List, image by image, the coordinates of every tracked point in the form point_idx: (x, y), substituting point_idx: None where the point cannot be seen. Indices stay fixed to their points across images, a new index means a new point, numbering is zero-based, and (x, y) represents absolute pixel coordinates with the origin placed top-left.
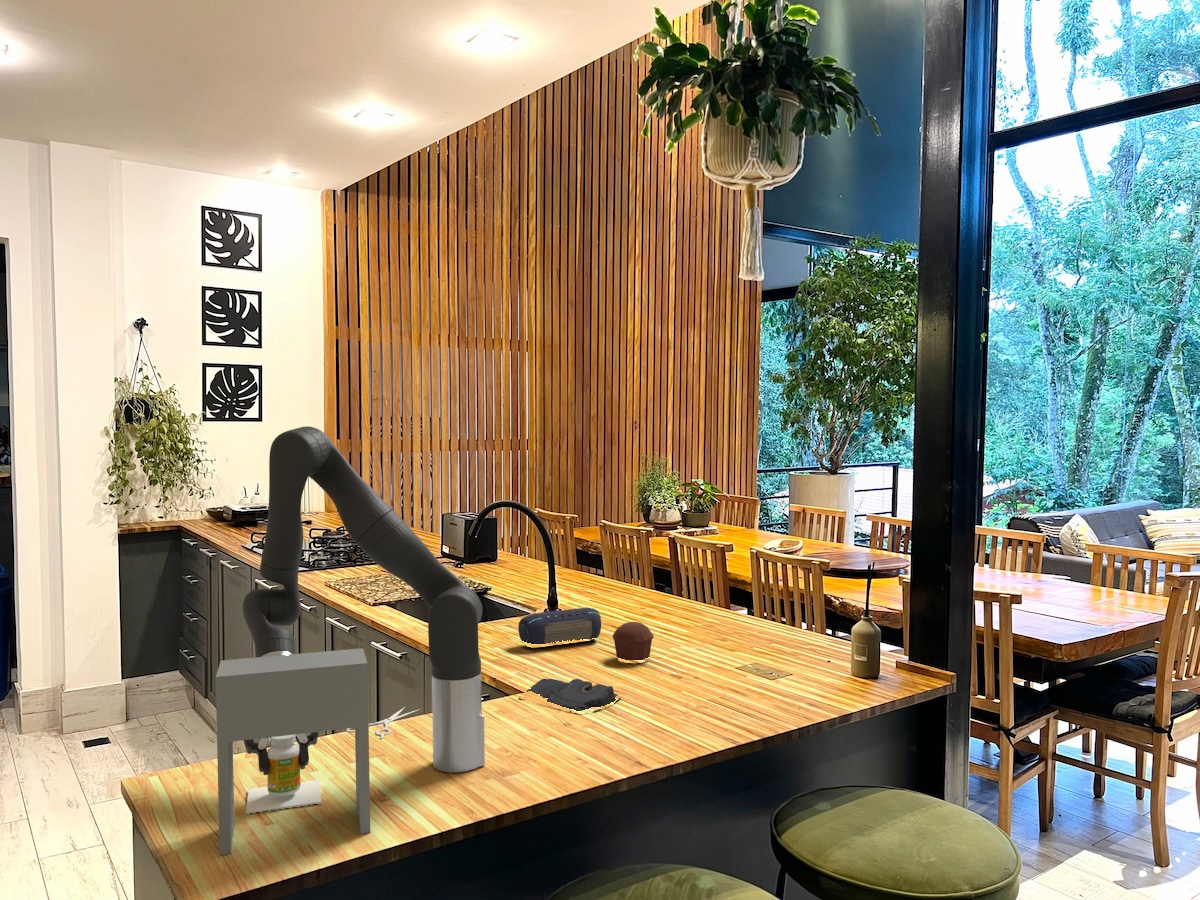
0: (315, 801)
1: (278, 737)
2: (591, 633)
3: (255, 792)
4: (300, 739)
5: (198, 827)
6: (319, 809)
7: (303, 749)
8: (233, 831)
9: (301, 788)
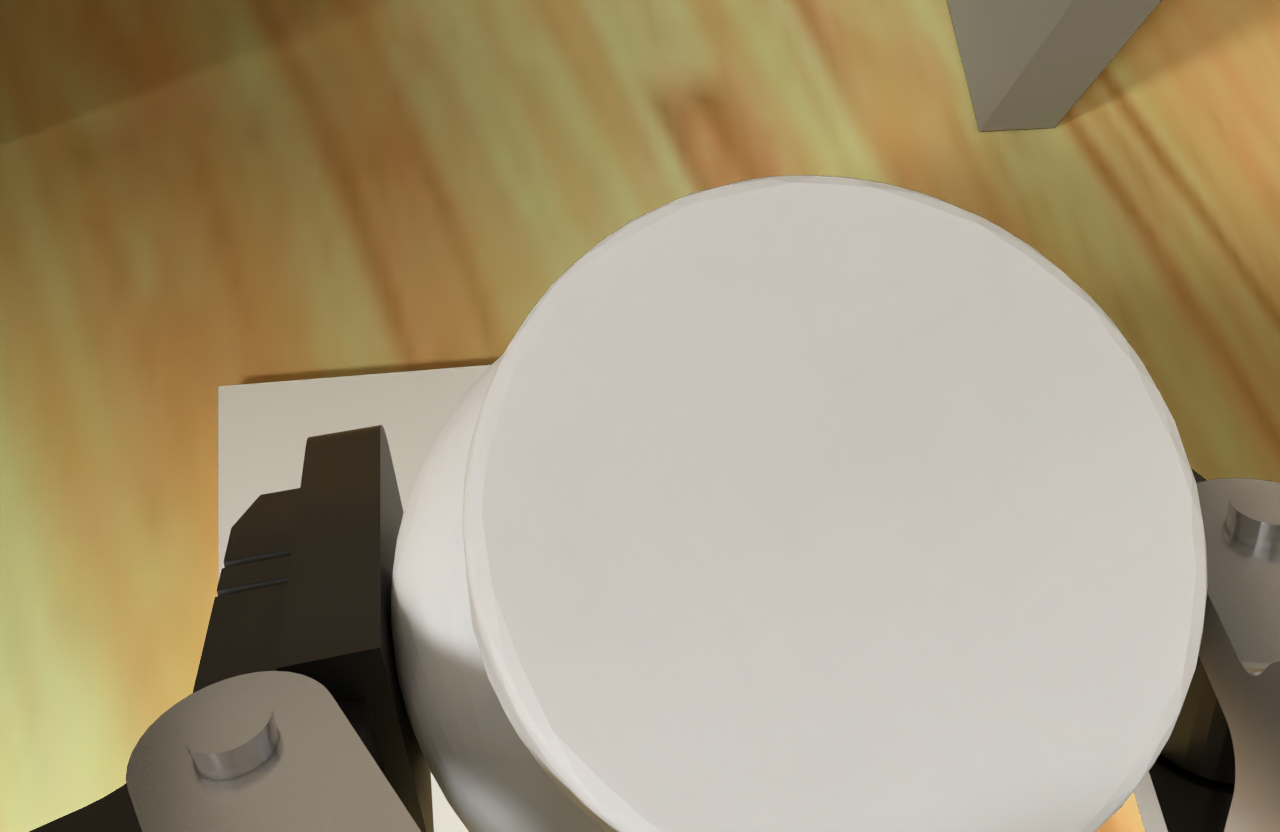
0: (283, 411)
1: (940, 321)
2: None
3: None
4: (337, 743)
5: (1270, 189)
6: (249, 276)
7: (301, 576)
8: (954, 2)
9: None
